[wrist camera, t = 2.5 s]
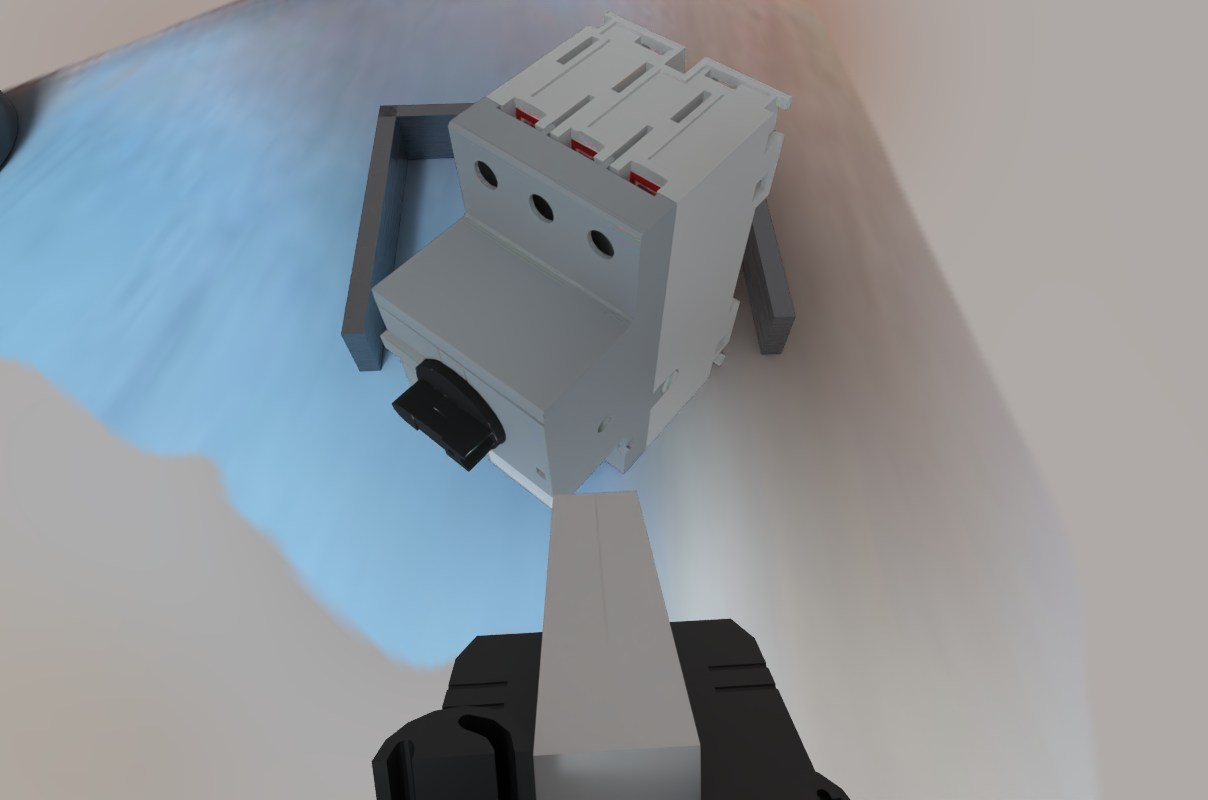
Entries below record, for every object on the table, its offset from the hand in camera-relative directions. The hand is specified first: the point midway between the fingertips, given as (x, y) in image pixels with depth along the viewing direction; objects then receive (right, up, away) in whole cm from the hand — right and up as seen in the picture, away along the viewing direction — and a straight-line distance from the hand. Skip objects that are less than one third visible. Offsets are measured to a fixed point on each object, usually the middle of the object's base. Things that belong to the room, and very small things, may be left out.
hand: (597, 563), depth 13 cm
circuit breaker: (-1, +2, +21) cm, 21 cm away
